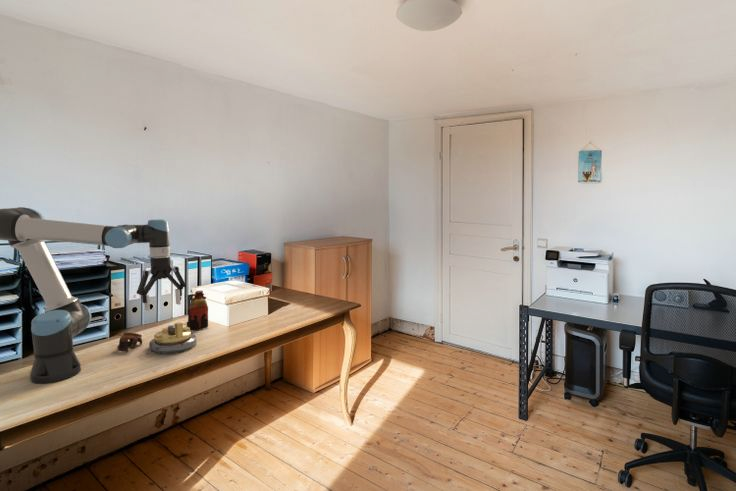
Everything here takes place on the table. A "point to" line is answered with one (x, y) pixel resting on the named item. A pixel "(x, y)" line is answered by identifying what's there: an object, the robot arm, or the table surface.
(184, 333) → the gold lug disc
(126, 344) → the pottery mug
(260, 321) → the table surface
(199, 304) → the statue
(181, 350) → the base
